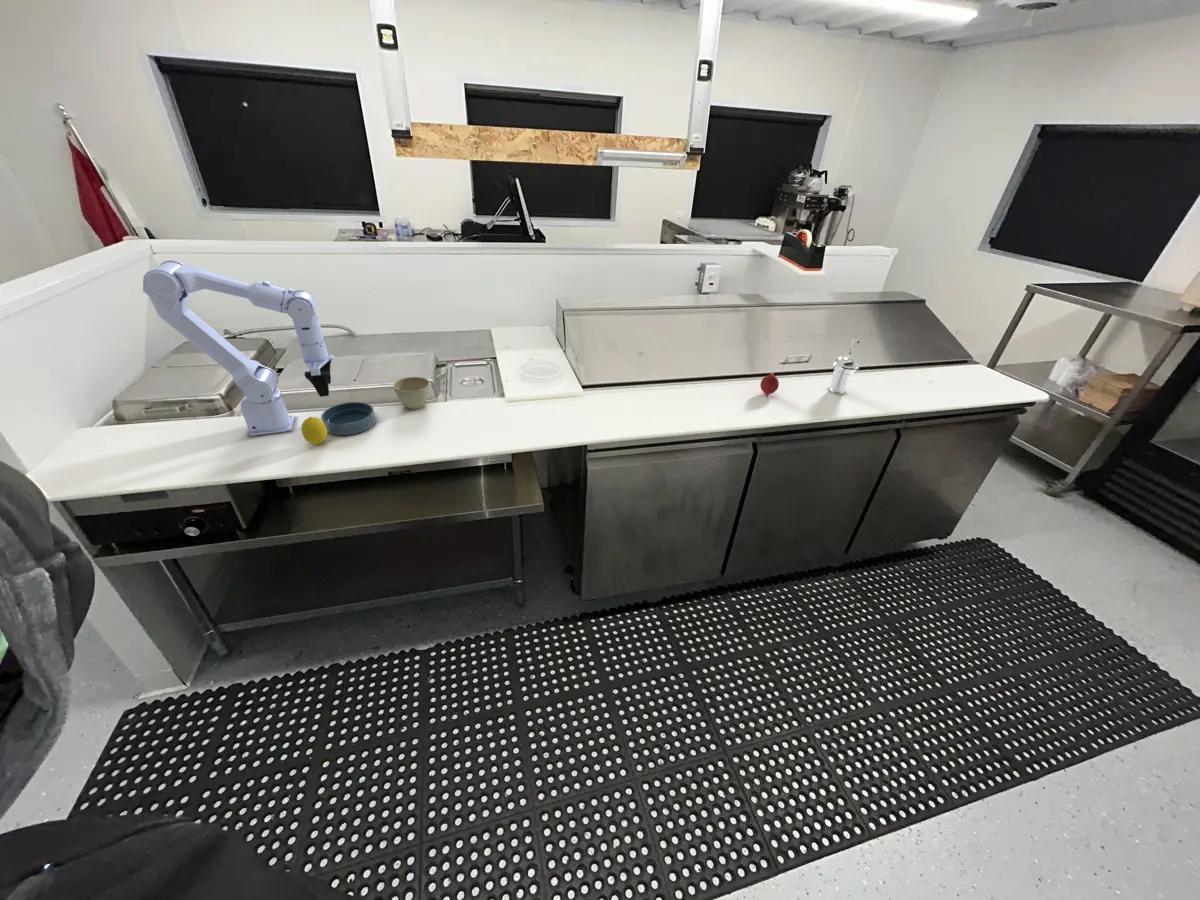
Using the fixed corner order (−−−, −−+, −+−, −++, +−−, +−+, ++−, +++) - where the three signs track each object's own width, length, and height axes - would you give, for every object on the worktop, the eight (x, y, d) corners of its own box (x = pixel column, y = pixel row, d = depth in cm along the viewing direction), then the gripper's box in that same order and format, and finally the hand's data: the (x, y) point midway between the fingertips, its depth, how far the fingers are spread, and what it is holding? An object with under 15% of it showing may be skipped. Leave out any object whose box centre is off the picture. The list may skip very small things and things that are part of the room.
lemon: (335, 442, 127) (327, 415, 123) (316, 452, 123) (308, 424, 118) (320, 436, 129) (312, 410, 124) (301, 446, 125) (292, 419, 120)
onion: (777, 398, 162) (784, 376, 158) (760, 398, 162) (766, 376, 157) (772, 391, 167) (778, 369, 162) (756, 390, 167) (761, 368, 162)
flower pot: (422, 415, 141) (418, 393, 137) (390, 410, 142) (386, 388, 138) (438, 400, 149) (435, 378, 145) (408, 395, 151) (404, 374, 147)
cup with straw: (852, 391, 170) (873, 336, 159) (844, 399, 164) (864, 342, 153) (828, 383, 174) (846, 329, 164) (819, 391, 169) (837, 335, 158)
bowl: (323, 439, 128) (319, 428, 126) (326, 416, 138) (322, 405, 136) (376, 432, 132) (373, 420, 130) (375, 410, 142) (373, 399, 140)
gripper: (327, 350, 120) (340, 399, 127) (330, 330, 131) (343, 377, 138) (294, 352, 117) (310, 402, 125) (301, 332, 128) (315, 379, 136)
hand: (325, 389), depth 131 cm, fingers open, 7 cm apart
